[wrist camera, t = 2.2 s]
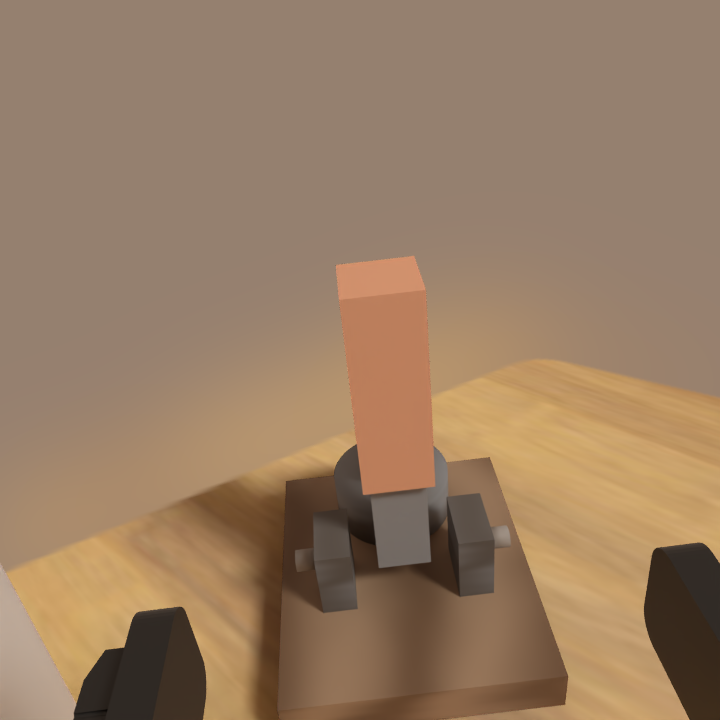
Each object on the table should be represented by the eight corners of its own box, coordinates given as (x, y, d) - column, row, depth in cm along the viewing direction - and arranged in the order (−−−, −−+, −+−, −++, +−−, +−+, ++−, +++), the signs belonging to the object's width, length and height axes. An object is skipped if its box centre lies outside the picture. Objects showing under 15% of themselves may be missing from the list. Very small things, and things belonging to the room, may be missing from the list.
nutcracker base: (284, 738, 29) (252, 620, 25) (291, 506, 41) (270, 401, 37) (565, 704, 29) (578, 582, 25) (489, 482, 41) (490, 376, 37)
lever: (373, 577, 31) (338, 299, 23) (367, 528, 33) (335, 265, 26) (439, 569, 31) (425, 289, 23) (429, 521, 33) (414, 256, 26)
